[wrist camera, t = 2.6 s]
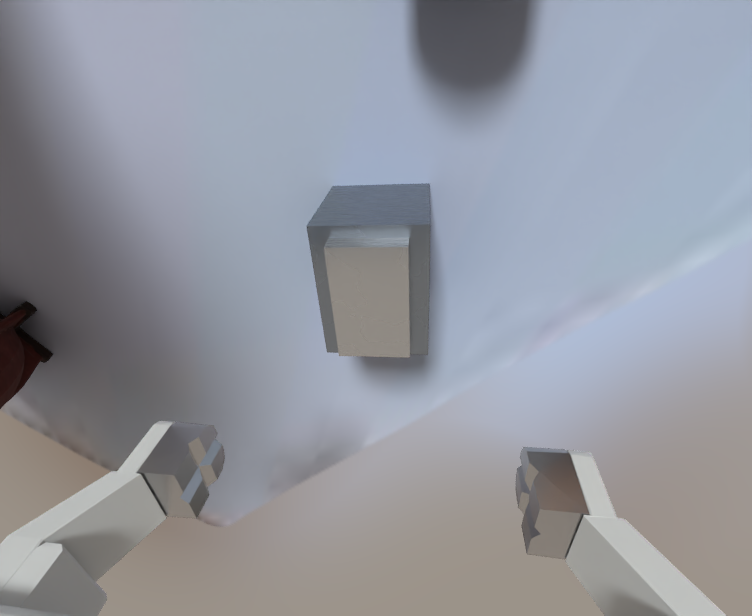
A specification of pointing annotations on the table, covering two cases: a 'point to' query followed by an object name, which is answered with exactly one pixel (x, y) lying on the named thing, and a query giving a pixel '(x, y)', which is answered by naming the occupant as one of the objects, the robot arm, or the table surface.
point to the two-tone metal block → (373, 269)
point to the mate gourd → (17, 352)
